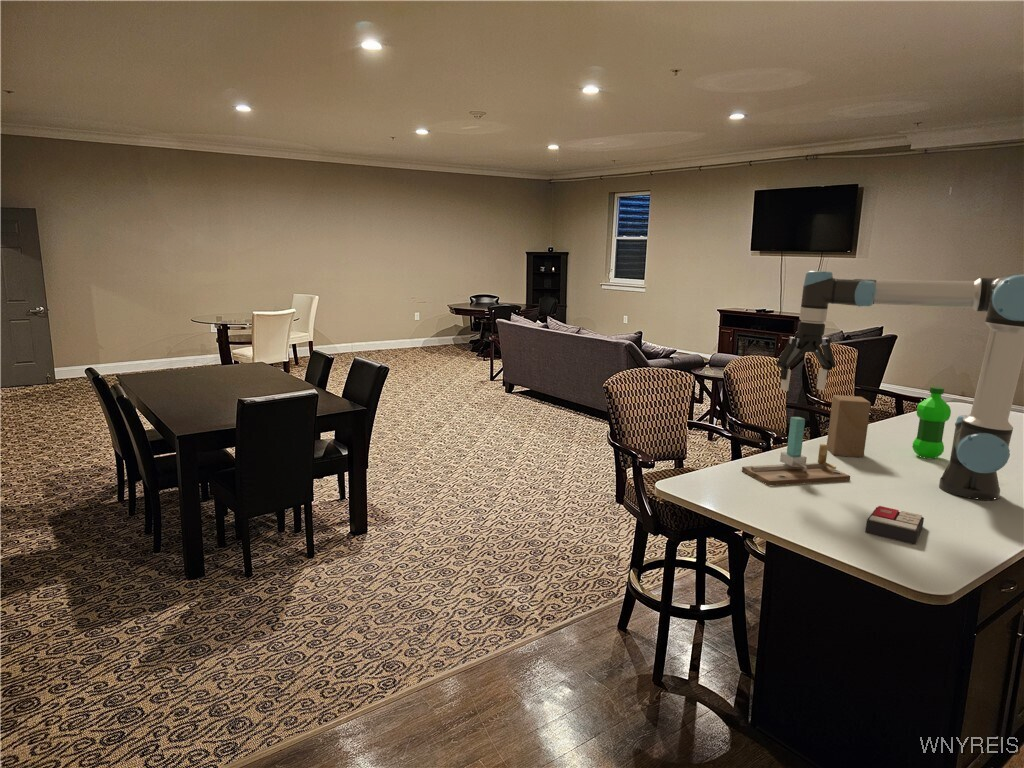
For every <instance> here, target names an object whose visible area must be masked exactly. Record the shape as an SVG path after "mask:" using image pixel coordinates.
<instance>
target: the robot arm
mask: <svg viewBox="0 0 1024 768" xmlns="http://www.w3.org/2000/svg"><path fill="white" fill-rule="evenodd" d="M803 282H804V283H803V287H802V294H801V303H800V305H801V306H800V310H799V311H800V312H799V320H800V321H799V322H798V324H797V325H798V326H797V334H798V335H797V337H793V336H789V337H788V340H787V344H786V345H785V347H784V349H783V351H782V353H781V354H780V356H779V357H778V359H777V362H776V363H775V366H776V367H778V368H780V369H781V370H780V379H781V382H780V387H779V388H780V390H783V391H785V392H788V391H789V389H790V388H789V387H790V381H791V379H790V378H791V373H792V370H791V369H790V368H791V367H792V366H793V365H794V363H795V362H796V361H797V359H799V357H800V356H801V355H803V354H804V353H812V354H814V356H815V357H816V360H817V361H818V363H819V365H820V367H821V368H820V367H819V370H818V374H817V375H818V376H817V382H816V389H817V390H820V391H825V390H826V385H827V384H826V382H827V380H828V378H829V372H830V371H832V370H833V368H834V369H835V368H836V362H835V358H834V354H833V351H832V347H831V338H830V337H823V336H824V335H825V331H826V330H825V328H826V324H825V322H826V321H827V315H828V308H829V305H830V304H831V305H832V304H833V305H843V306H844V305H845V306H854V307H855V306H856V307H872V306H873V305H888V306H889V305H891V306H915V307H917V306H921V307H941V308H942V307H945V308H946V307H947V308H970V309H973V310H974V311H975V312H983V313H986V316H985V321H984V322H985V325H987V327H988V328H989V332H988V333H989V334H988V338H987V342H986V347H985V350H984V355H983V359H982V364H981V368H980V371H979V378H978V381H977V386H976V389H975V394H974V397H973V402H972V406H971V410H970V413H969V414H968V415H964V414H963V415H962V414H961V415H959V416H958V417H956V420H955V421H956V422H955V423H954V426H955V427H954V434H953V440H952V446H951V451H950V458H949V463H948V465H947V466H946V468H945V470H944V472H943V474H942V476H941V477H940V478H939V484H938V486H939V488H940V489H941V490H942V491H944V492H946V491H947V492H946V493H948V494H951V493H952V494H951V495H955V496H958V495H960V496H959V497H962V496H964V497H963V498H967V497H970V498H969V499H972V498H978V499H977V500H980V499H994V498H998V497H999V498H1000V494H1001V487H1000V484H999V478H998V473H997V471H999V470H1001V469H1003V468H1004V467H1005V466H1006V464H1007V463H1008V462H1009V458H1010V455H1011V453H1010V451H1011V450H1010V443H1011V438H1012V434H1013V431H1014V427H1013V426H1012V424H1011V423H1010V422H1009V419H1010V418H1009V417H1010V414H1011V410H1012V405H1013V401H1014V397H1015V394H1016V389H1017V386H1018V381H1019V377H1020V373H1021V369H1022V366H1023V365H1022V364H1023V361H1024V273H1023V274H1009V275H1005V276H1004V275H1003V276H996V277H995V276H994V277H979V278H977V279H976V280H923V279H922V280H921V279H918V280H915V279H913V280H912V279H864V278H863V279H862V278H854V279H848V278H847V279H846V278H845V279H842V278H834V277H833V272H831V271H823V270H808V271H807V272H806V273H805V277H804V281H803ZM999 498H998V499H999Z"/></svg>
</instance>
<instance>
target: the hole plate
mask: <svg viewBox="0 0 1024 768" xmlns="http://www.w3.org/2000/svg"><path fill="white" fill-rule="evenodd" d="M828 451H829V450H828V445H827V444H824V443H820V444H819V448H818V457H817V461H816V462H806V467H807V472H806V473H804V468H802V467H791V466H789V465H787V464H785V463H782V464H781V463H780V464H765V465H761V464H760V465H750V466H742V467H741V468H742V469H741V472H742V471H743V472H742V473H744V472H745V474H746V473H747V474H746V475H748V474H749V475H748V476H750V477H752V476H753V477H752V478H754V479H755V478H756V480H757V479H758V480H757V481H759V480H760V482H761V481H762V483H763V482H764V483H763V484H765V483H766V484H765V485H766V486H769V485H774V486H785V485H786V484H789V485H802V484H803V483H805V484H816V483H817V484H818V483H820V482H821V483H831V482H833V483H834V482H848V481H849V480H850V481H851V475H849V474H846V473H845V472H843V471H840V470H838V469H837V466H835V465H833V464H830V463H828V462H827V457H828Z"/></svg>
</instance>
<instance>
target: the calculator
mask: <svg viewBox="0 0 1024 768" xmlns="http://www.w3.org/2000/svg"><path fill="white" fill-rule="evenodd" d="M924 519H925V518H924V517H923V515H922V514H918V513H913V512H909V511H904V510H901V511H900V510H899V509H896V508H891V507H886V506H882V505H878V506H876V507H875V509H874V510H873V511H872V513H871V514H870V515H869V517H868V518H867V519H866V522H865V524H866V525H865V532H864V533H865V534H869V535H873V536H877V537H879V538H880V537H881V538H885V539H888V540H893V541H898V542H901V543H905V544H909V545H913V546H914V545H917V542H918V539H919V536H920V534H921V532H922V530H923V527H924V522H925V521H924Z"/></svg>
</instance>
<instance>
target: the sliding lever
mask: <svg viewBox="0 0 1024 768" xmlns="http://www.w3.org/2000/svg"><path fill="white" fill-rule="evenodd" d="M805 425H806V419H805V418H804V417H800V416H790V422H789V431H788V437H787V438H788V439H787V445H786V446H787V447H786V451H783V452H782V451H781V452H780V458H779V462H781V463H782V464H787V465H789V466H791V467H802V468H804V473H806V472H807V467H806V463H807V459H808V458H807V456H806V455H803V454H802V450H803V448H802V447H803V442H804V441H803V440H804V430H805Z"/></svg>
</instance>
